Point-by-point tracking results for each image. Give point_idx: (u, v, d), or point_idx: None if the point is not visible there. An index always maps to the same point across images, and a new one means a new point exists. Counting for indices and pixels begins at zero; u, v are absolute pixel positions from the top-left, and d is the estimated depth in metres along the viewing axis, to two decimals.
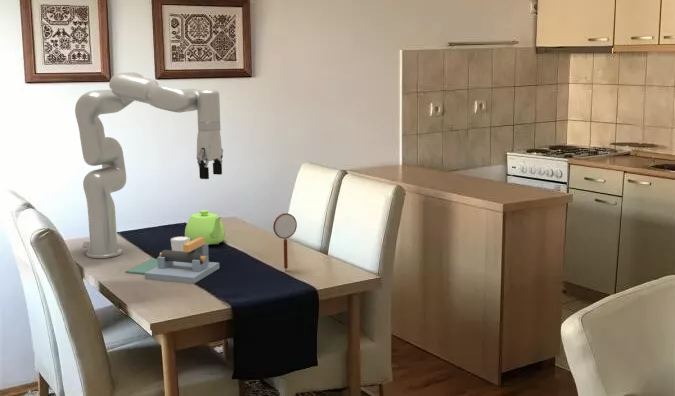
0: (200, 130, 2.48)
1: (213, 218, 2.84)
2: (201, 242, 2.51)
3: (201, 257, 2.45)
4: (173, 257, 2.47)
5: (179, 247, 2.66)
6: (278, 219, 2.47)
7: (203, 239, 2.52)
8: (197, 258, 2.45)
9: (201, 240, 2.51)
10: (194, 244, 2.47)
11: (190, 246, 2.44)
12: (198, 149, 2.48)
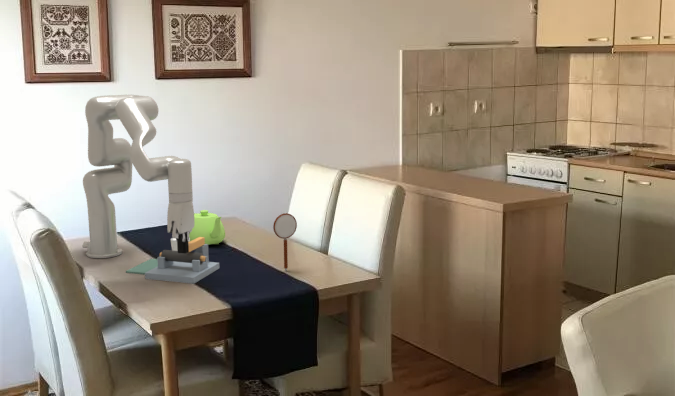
0: (171, 202, 2.36)
1: (213, 218, 2.84)
2: (201, 242, 2.51)
3: (201, 257, 2.45)
4: (173, 257, 2.47)
5: None
6: (278, 219, 2.47)
7: (203, 239, 2.52)
8: (197, 258, 2.45)
9: (201, 240, 2.51)
10: (195, 244, 2.47)
11: (190, 246, 2.44)
12: (169, 222, 2.35)
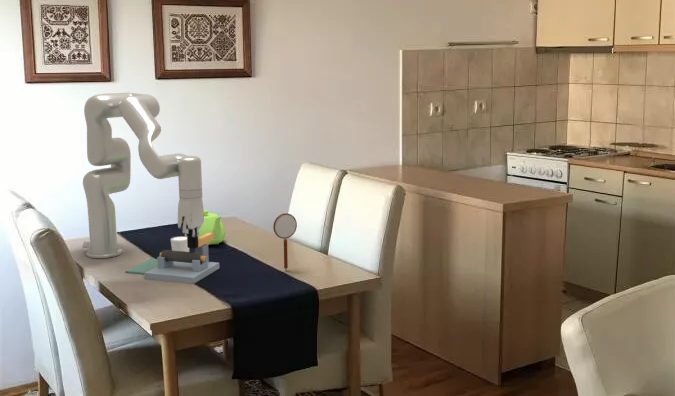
0: (181, 198, 2.42)
1: (213, 218, 2.84)
2: (210, 238, 2.57)
3: (201, 257, 2.45)
4: (173, 257, 2.47)
5: (179, 247, 2.66)
6: (278, 219, 2.47)
7: (212, 235, 2.59)
8: (197, 258, 2.45)
9: (210, 235, 2.57)
10: (204, 239, 2.53)
11: (200, 241, 2.50)
12: (179, 217, 2.42)
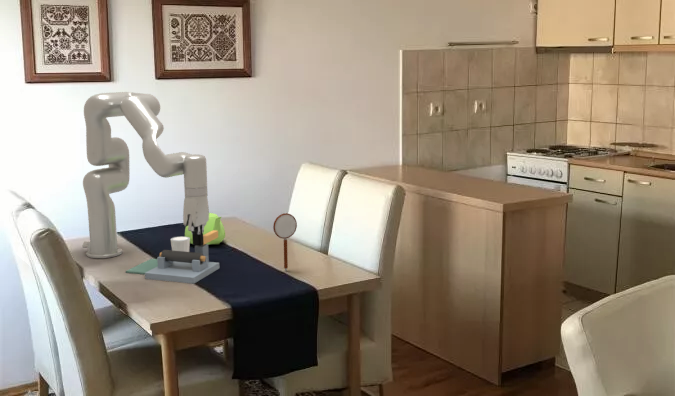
0: (187, 196, 2.45)
1: (213, 218, 2.84)
2: (215, 235, 2.61)
3: (201, 257, 2.45)
4: (173, 257, 2.47)
5: (179, 247, 2.66)
6: (278, 219, 2.47)
7: (217, 232, 2.62)
8: (197, 258, 2.45)
9: (215, 233, 2.61)
10: (209, 237, 2.56)
11: (205, 239, 2.54)
12: (184, 215, 2.45)
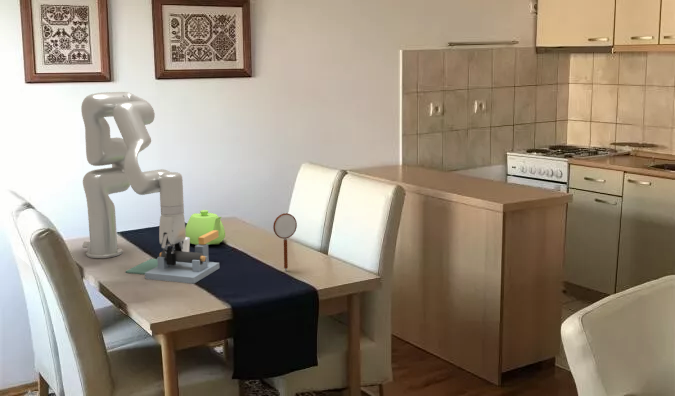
0: (162, 214, 2.44)
1: (213, 218, 2.84)
2: (215, 235, 2.61)
3: (201, 257, 2.45)
4: None
5: None
6: (278, 219, 2.47)
7: (217, 232, 2.62)
8: (197, 258, 2.45)
9: (215, 233, 2.61)
10: (209, 237, 2.57)
11: (205, 239, 2.54)
12: (160, 233, 2.43)
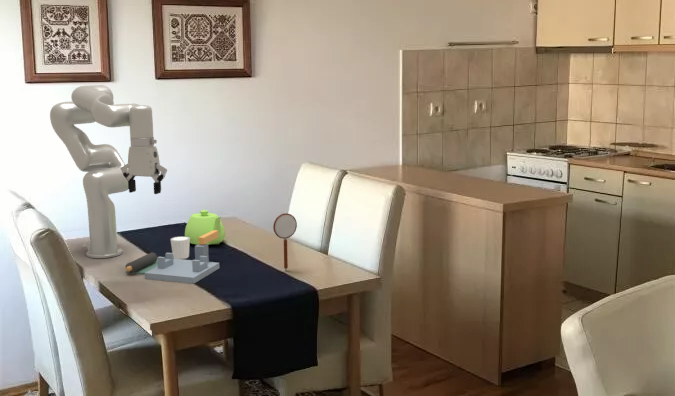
0: None
1: (213, 218, 2.84)
2: (215, 235, 2.61)
3: None
4: None
5: (179, 247, 2.66)
6: (278, 219, 2.47)
7: (217, 232, 2.62)
8: None
9: (215, 233, 2.61)
10: (209, 237, 2.57)
11: (205, 239, 2.54)
12: None
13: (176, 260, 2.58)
